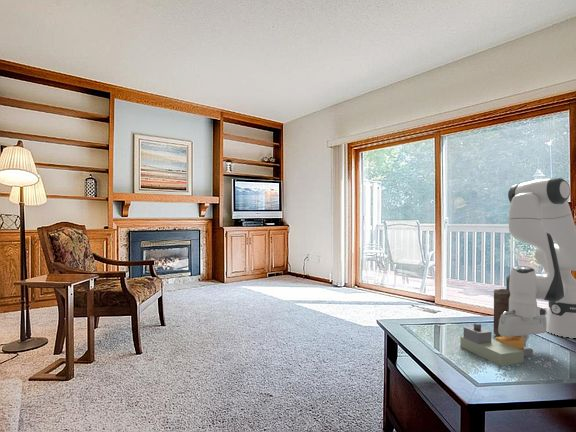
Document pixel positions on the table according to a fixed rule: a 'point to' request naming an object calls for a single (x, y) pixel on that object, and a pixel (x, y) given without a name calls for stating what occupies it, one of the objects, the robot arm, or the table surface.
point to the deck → (491, 347)
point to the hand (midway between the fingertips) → (522, 346)
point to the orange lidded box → (512, 341)
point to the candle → (500, 307)
